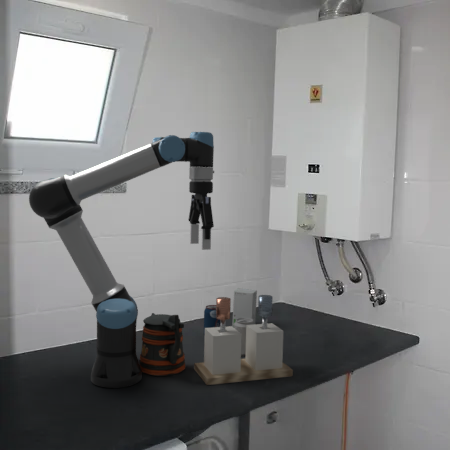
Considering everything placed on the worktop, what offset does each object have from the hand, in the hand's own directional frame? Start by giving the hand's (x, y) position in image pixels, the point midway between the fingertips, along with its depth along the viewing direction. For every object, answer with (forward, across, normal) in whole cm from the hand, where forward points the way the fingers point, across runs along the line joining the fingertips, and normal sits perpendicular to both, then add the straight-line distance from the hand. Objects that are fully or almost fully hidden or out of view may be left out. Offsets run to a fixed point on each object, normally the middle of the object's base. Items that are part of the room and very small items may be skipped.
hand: (200, 246), depth 191 cm
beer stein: (+39, -5, +12) cm, 41 cm away
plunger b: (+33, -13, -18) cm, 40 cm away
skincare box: (+39, +34, -29) cm, 59 cm away
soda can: (+39, +25, -13) cm, 48 cm away
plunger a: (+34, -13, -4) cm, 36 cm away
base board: (+39, -13, -11) cm, 42 cm away
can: (+39, +5, -18) cm, 43 cm away
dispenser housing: (+37, -13, -11) cm, 40 cm away
